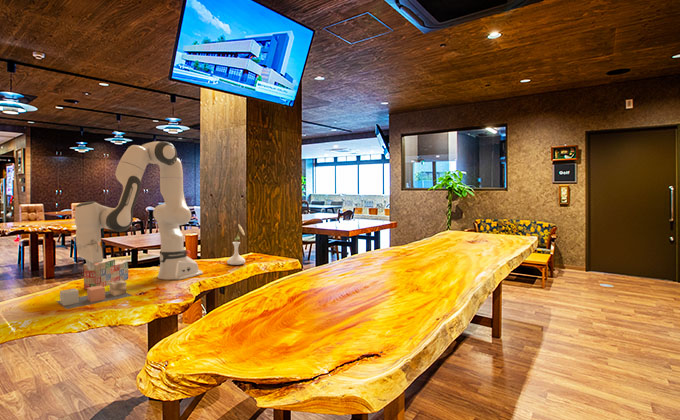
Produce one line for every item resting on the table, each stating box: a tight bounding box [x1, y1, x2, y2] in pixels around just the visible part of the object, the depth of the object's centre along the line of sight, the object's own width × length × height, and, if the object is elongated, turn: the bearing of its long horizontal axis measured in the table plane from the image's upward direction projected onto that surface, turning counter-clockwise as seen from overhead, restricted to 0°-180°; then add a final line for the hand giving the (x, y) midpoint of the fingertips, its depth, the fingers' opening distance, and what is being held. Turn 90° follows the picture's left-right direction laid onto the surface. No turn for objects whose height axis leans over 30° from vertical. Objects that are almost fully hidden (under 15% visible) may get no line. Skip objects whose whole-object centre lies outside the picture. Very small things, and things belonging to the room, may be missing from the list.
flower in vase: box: [226, 223, 246, 266], centre depth 227 cm, size 13×11×25 cm
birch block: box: [109, 280, 127, 296], centre depth 162 cm, size 5×5×5 cm
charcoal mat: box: [56, 290, 133, 310], centre depth 155 cm, size 24×14×1 cm, turn 141°
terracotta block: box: [86, 285, 106, 302], centre depth 153 cm, size 5×5×5 cm
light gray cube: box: [59, 288, 80, 306], centre depth 148 cm, size 5×5×5 cm
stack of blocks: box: [82, 258, 129, 290], centre depth 177 cm, size 21×6×12 cm, turn 173°
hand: (91, 269), depth 160 cm, fingers closed
